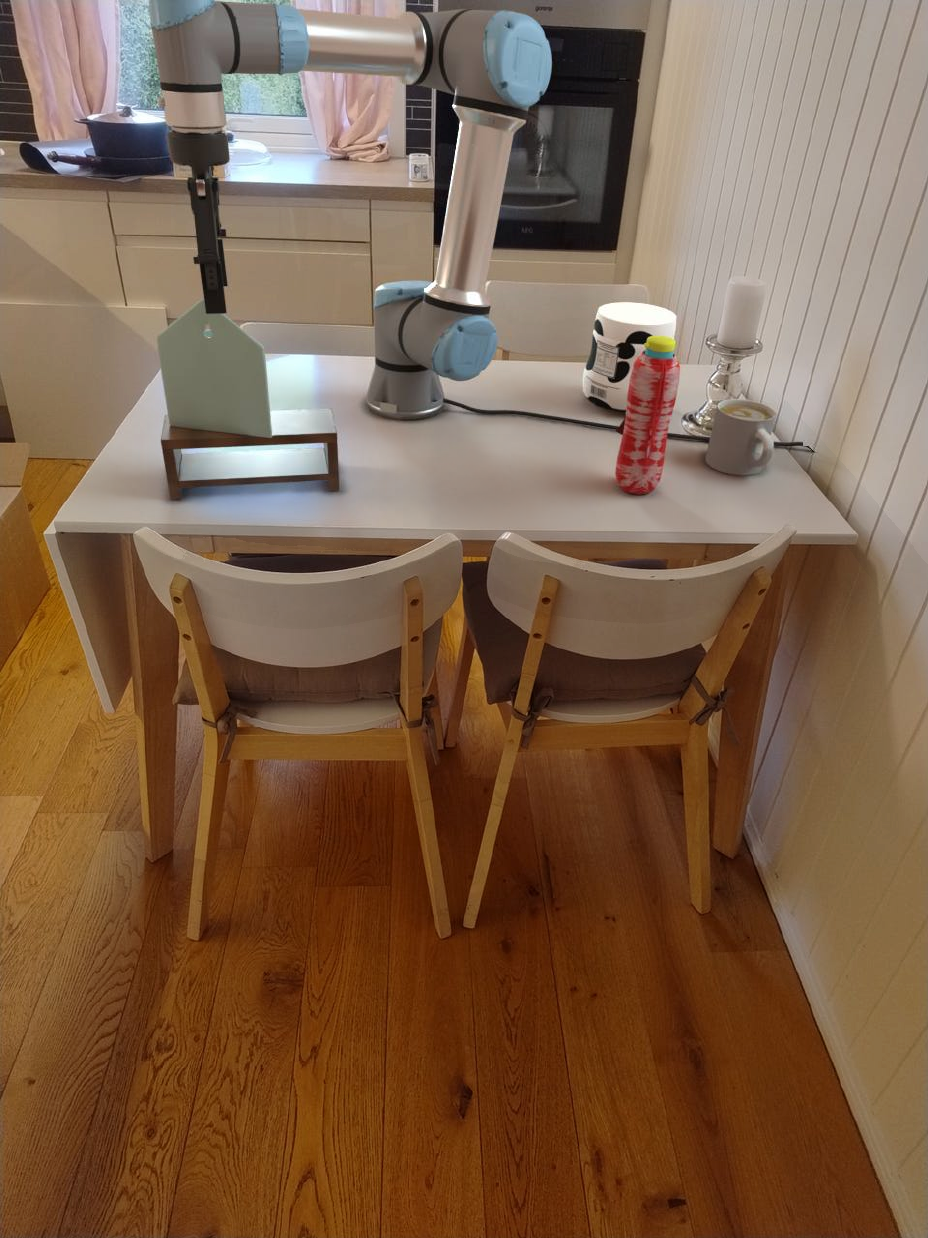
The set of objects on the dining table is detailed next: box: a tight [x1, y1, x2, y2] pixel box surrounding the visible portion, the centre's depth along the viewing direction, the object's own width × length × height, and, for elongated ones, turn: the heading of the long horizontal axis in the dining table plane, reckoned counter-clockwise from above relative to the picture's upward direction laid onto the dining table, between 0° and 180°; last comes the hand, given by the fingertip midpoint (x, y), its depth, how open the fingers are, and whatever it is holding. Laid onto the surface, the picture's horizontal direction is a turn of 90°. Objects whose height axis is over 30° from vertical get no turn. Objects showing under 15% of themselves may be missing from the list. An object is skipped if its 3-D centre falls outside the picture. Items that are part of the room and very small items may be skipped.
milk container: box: [582, 301, 677, 414], centre depth 171 cm, size 17×17×18 cm
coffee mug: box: [705, 398, 777, 476], centre depth 151 cm, size 13×10×10 cm
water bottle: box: [614, 335, 681, 495], centre depth 140 cm, size 12×8×25 cm, turn 0°
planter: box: [155, 297, 272, 438], centre depth 130 cm, size 16×8×20 cm, turn 80°
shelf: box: [160, 408, 341, 501], centre depth 138 cm, size 26×10×10 cm, turn 102°
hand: (217, 298), depth 124 cm, fingers open, 13 cm apart
